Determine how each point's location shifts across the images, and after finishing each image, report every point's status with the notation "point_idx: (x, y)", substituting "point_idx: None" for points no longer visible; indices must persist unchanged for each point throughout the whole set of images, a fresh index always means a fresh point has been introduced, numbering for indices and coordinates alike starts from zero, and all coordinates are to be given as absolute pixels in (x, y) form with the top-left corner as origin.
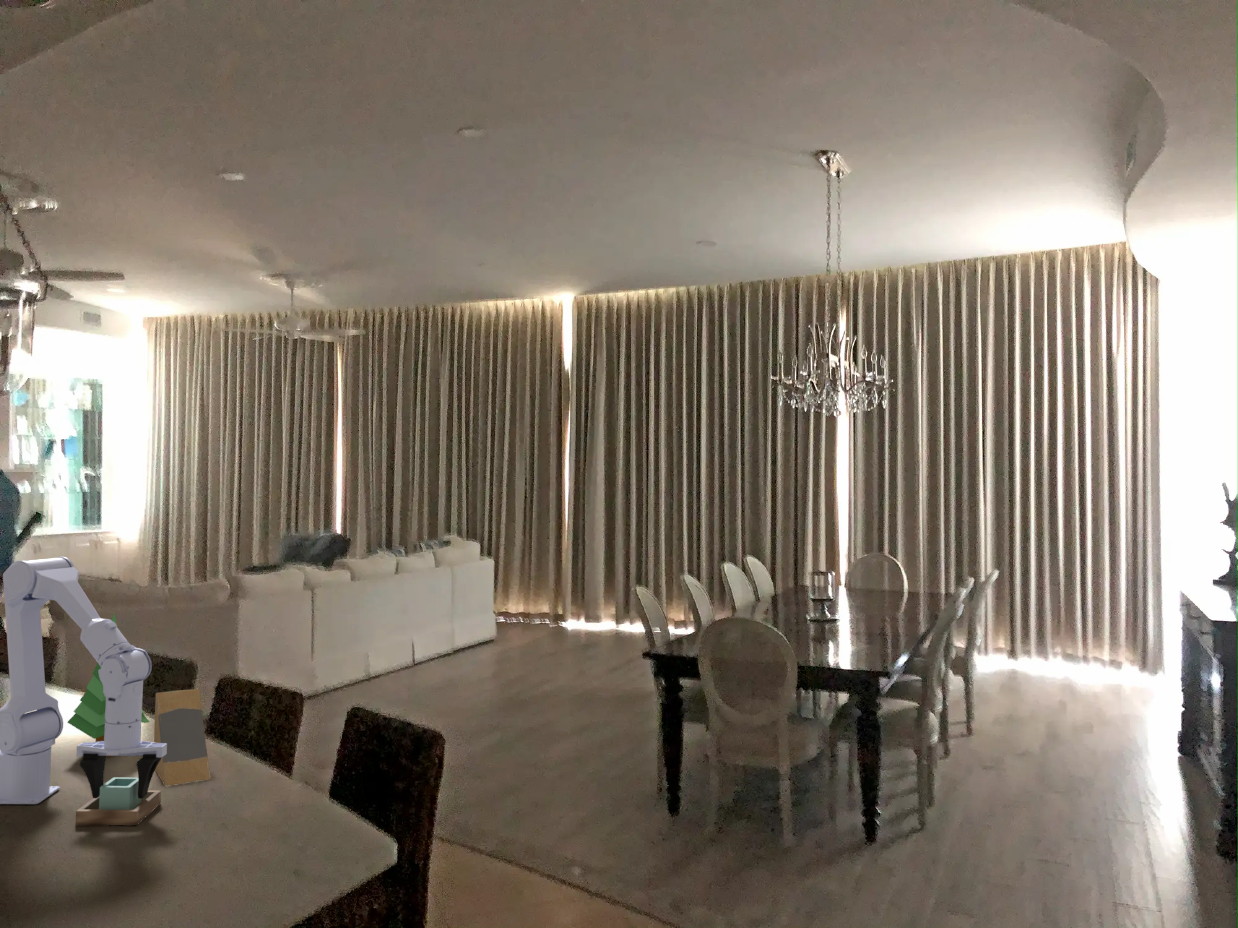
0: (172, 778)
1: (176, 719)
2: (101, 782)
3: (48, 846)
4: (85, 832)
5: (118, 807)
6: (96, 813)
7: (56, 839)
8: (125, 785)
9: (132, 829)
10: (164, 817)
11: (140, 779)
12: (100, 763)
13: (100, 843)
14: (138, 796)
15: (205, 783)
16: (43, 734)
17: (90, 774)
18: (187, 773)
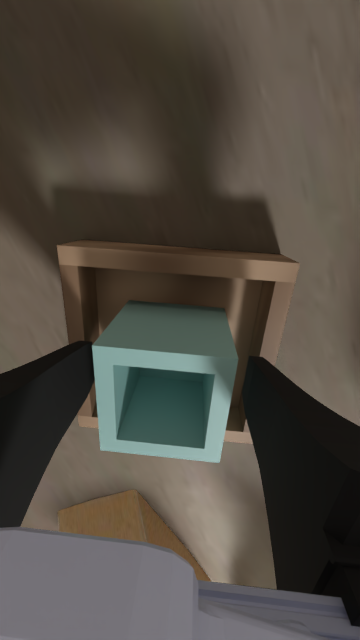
0: (124, 514)
1: None
2: (254, 423)
3: (332, 21)
4: (227, 187)
5: (157, 312)
6: (215, 255)
7: (316, 113)
8: (165, 421)
9: (79, 208)
10: (34, 304)
11: (27, 373)
12: (290, 516)
13: (130, 55)
14: (87, 343)
15: (56, 495)
16: None
17: (317, 416)
18: (97, 529)
